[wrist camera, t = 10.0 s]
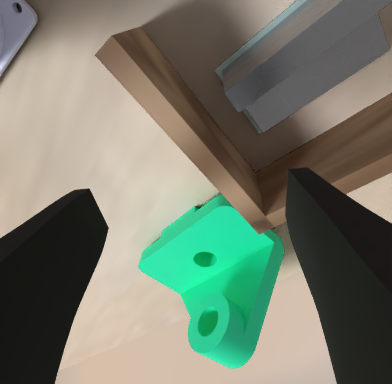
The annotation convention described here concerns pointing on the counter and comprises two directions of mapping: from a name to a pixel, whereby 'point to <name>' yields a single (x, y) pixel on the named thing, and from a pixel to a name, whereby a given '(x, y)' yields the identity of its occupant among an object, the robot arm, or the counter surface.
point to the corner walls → (226, 152)
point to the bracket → (305, 57)
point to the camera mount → (218, 277)
